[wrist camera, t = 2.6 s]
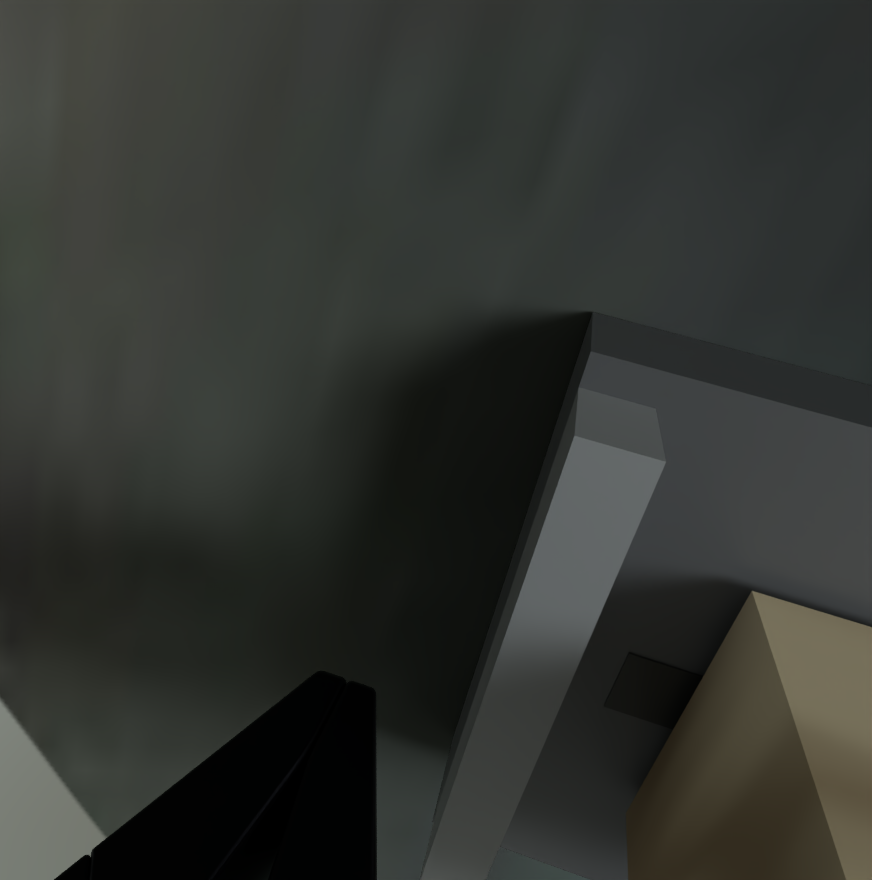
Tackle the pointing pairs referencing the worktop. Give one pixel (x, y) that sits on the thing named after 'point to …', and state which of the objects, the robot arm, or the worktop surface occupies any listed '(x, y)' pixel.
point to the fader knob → (766, 758)
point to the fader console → (646, 582)
